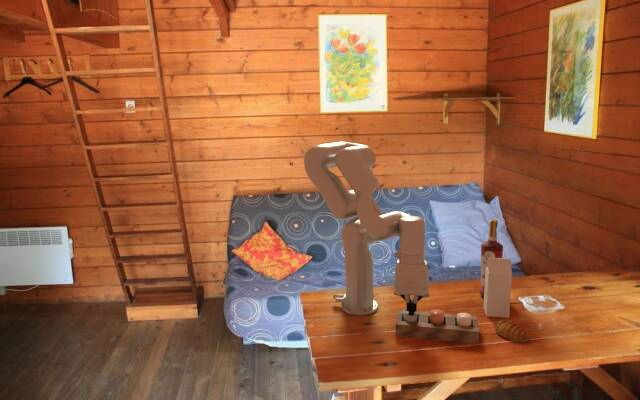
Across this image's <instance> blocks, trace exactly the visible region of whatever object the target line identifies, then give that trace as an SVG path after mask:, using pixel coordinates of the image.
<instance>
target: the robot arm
mask: <svg viewBox="0 0 640 400" xmlns="http://www.w3.org/2000/svg"><path fill="white" fill-rule="evenodd" d="M376 162H377V157H376V154H375V152H374V150H373V149H372V148H371V147H370V146H369V145H365V144H362V143H361V144H360V143H353V142H349V141H347V142H346V141H336V142H328V143H322V144H317V145H313V146H311V147H310V148H308V149H307V151H305V153H304V158H303V164H304V170H305V173H306V175H307V176H308V179H309V180H310V181H311V183H312V184H313V185H314V186H315V188H316V189H317V190H318V191H319V194H320V195H321V197H322V199H323V200H324V202H325V204H326V206H327V207H328V209H329V211H330V212H331V214H332V216H333V217H335V219H336V220H338V221H346V220H349V221H348V222H346V223H345V224H344V225H343V227H342V228H341V231H340V233H341V241H342V246H343V251H344V279H345V280H344V281H345V283H344V285H345V286H344V287H345V289H344V290H345V293H333V297H332V298H333V300H334V301H335V302H336V303H341V305H340V306H341V308H340V309H341V310H342V312H344V313H346V314H347V315H348V314H349V315H352V316H368V315H372V314H374V313H375V312H377V310H378V309H379V305H378V302H377V301H376V300H374V259H373V255H372V252H371V251H370V249H369V246H370V245H372V244H376V243H379V242H382V241H387V240H388V239H392V238H395V237H399V239H398V240H399V241H398V246H399V247H398V250H399V251H398V252H394V254H393V255H394V258H397V261H396V264H395V268H394V270H395V271H394V282H393V283H394V291H393V295H395V296H398V297H401V298H402V299H403V300H404V301H405V303H406V310H407V311H409V315H411V312H412V316H414V312H416V311H418V310H417V308H418V307H417V304H418V302H419V301H421V300H422V299H425V298H430V291H429V289H430V288H429V287H430V286H429V285H430V281H429V280H430V278H429V277H430V275H429V267H428V262H427V260H425V259H426V257H425V254H426V253H425V249H426V247H425V245H426V244H425V243H426V222H425V219H424V218H422V216H416V215H411V214H408V213H405V212H404V211H400V210H396V211H395V210H394V211H391V212H388V213H384V214H383V212H382V210H381V209H380V207H379V205H378V204H377V202H376V201H375V199H374V198H373V196H372V194H374V192H375V191H376V190H377V189H378V187H379V184H380V182H379V181H380V180H379V179H378V178H377V176H376V175H375V174H374V172H373V170H372V168H373V167H375V165H376ZM332 168H338V170H339V172H340V173H341V174H342V176H343V177H344V179H345V181H346V182H347V184H348V185H349V187H350V188H351V189H350V190H349V189H348V188H347V187H346V186H345V184H344V183H343V181H342V180H341V178H340V177H339V176H338V175H336V174H335V172H332V171H331V170H330V169H332ZM411 296H413V298H412V297H411ZM411 298H412V299H411Z"/></svg>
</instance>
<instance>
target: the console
mask: <svg viewBox="0 0 640 400" xmlns="http://www.w3.org/2000/svg"><path fill="white" fill-rule="evenodd" d="M406 310H407V309H398V311H397V317H396V321H395V337H399V336H402V338H410V339H421V340H430V341H441V342H442V341H443V342H450V343H451V342H453V343H461V344H462V343H464V344H473V345H474V344H475V345H479V340H480V339H479V338H480V329H479V322H478V316H477V315H471V316H472V318H471V327H464V326H457V314H458V313H456V314H455V313H445V312H444V325H441V324H430V311H424V310H423V311H422V310H421V311H419V310H417V311H416V312H417V322H408V321H403V313H404V311H406Z"/></svg>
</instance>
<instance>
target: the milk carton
mask: <svg viewBox="0 0 640 400" xmlns="http://www.w3.org/2000/svg"><path fill="white" fill-rule="evenodd" d="M512 278H513V271H512V258H503V257H502V258H488V261H487V264H486V270H485V288H484V296H483V310H484V312H485V315H486V317H493V318H495V317H496V318H497V317H498V318H506V319H507V318H510V313H511V312H510V311H511V310H510V309H511V298H512V297H511V295H512V280H513V279H512Z"/></svg>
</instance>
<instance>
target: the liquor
mask: <svg viewBox="0 0 640 400" xmlns="http://www.w3.org/2000/svg"><path fill="white" fill-rule="evenodd" d="M498 222H499V221H498V220H497V219H489V224H488V226H489V231H488V239H487V240H486V241H484V242H482V243H481V244H480V268H481V269H480V270H481V271H480V289H479V294H480V295H482V297H484V288H485V270H486V264H487V261H488V258H502V259H503V253H504V252H503V251H504V245H502V244H501V242H499V241H498V236H497V235H498V234H497V228H498V225H499V224H498Z"/></svg>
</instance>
